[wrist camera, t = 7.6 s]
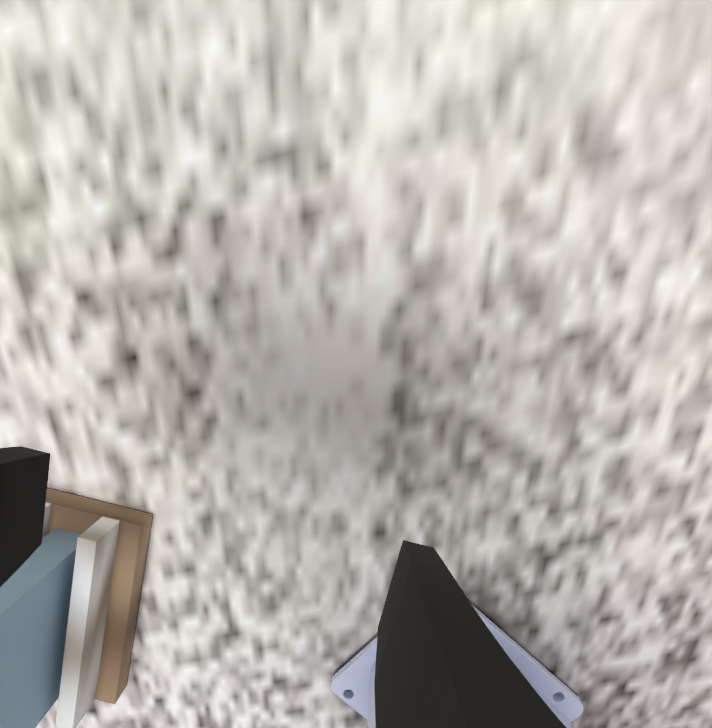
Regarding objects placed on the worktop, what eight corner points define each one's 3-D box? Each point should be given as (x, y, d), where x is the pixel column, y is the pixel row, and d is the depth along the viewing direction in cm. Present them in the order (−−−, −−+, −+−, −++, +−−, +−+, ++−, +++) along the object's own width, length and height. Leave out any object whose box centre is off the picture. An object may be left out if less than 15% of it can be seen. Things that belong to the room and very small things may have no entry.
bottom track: (30, 483, 20) (-21, 512, 18) (153, 514, 20) (119, 547, 18) (14, 657, 22) (-33, 705, 20) (126, 685, 22) (93, 738, 19)
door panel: (72, 679, 21) (-48, 834, 15) (41, 671, 21) (-92, 823, 15) (90, 536, 19) (-37, 646, 13) (56, 527, 19) (-86, 634, 14)
